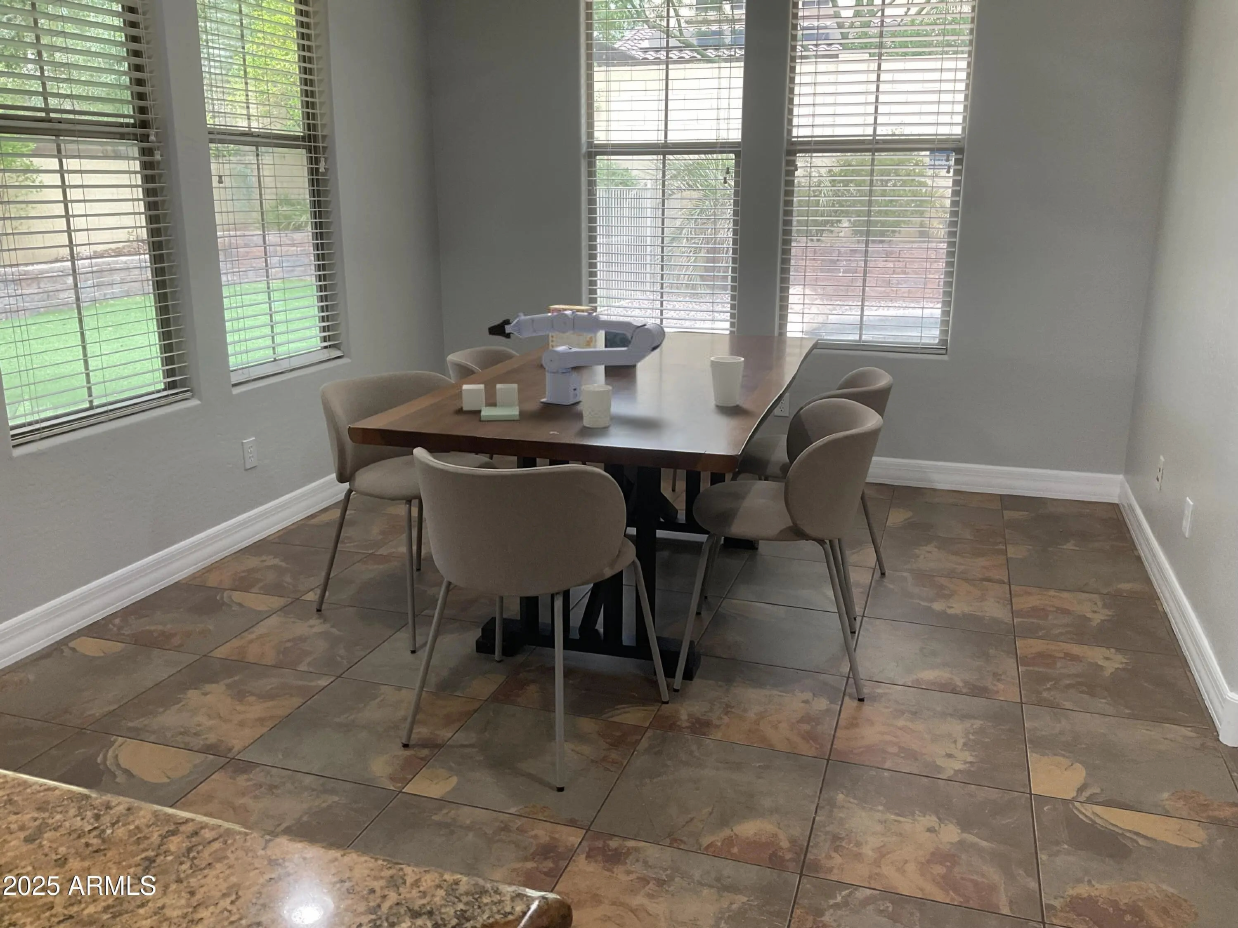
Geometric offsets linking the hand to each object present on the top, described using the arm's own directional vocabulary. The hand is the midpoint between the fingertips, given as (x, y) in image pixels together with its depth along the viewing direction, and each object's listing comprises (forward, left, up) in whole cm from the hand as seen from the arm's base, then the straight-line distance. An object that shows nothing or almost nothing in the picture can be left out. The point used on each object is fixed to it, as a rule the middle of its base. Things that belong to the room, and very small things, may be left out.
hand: (495, 330), depth 290 cm
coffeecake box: (+13, -61, -20) cm, 66 cm away
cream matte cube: (-12, +11, -19) cm, 25 cm away
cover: (-4, +16, -19) cm, 26 cm away
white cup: (-45, +17, -20) cm, 52 cm away
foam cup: (-63, -24, -20) cm, 70 cm away
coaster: (-17, +21, -19) cm, 33 cm away
